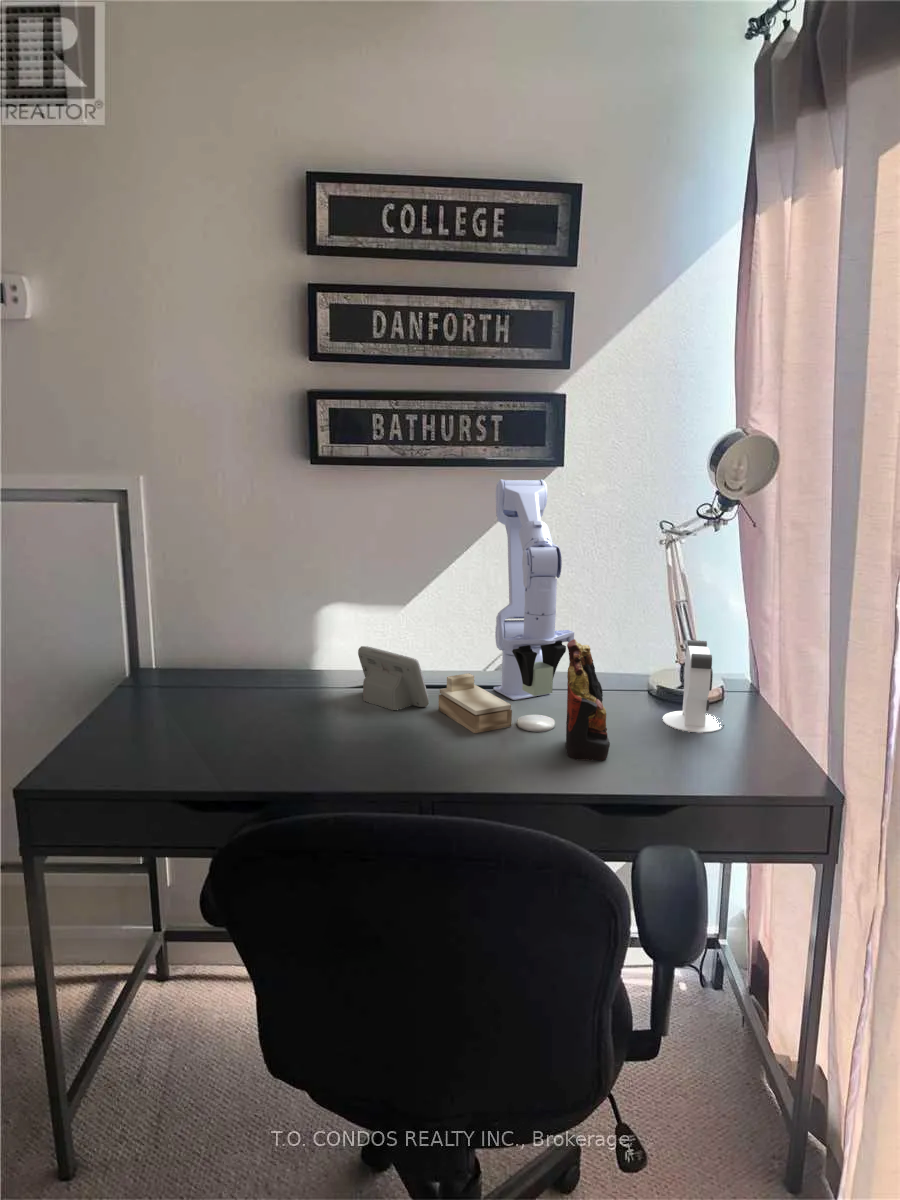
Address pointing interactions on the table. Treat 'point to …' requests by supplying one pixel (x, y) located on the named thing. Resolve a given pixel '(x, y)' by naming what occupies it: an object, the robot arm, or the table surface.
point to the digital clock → (392, 679)
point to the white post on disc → (695, 692)
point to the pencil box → (475, 717)
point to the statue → (584, 707)
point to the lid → (472, 695)
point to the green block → (540, 680)
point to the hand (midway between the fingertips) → (537, 683)
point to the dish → (536, 723)
